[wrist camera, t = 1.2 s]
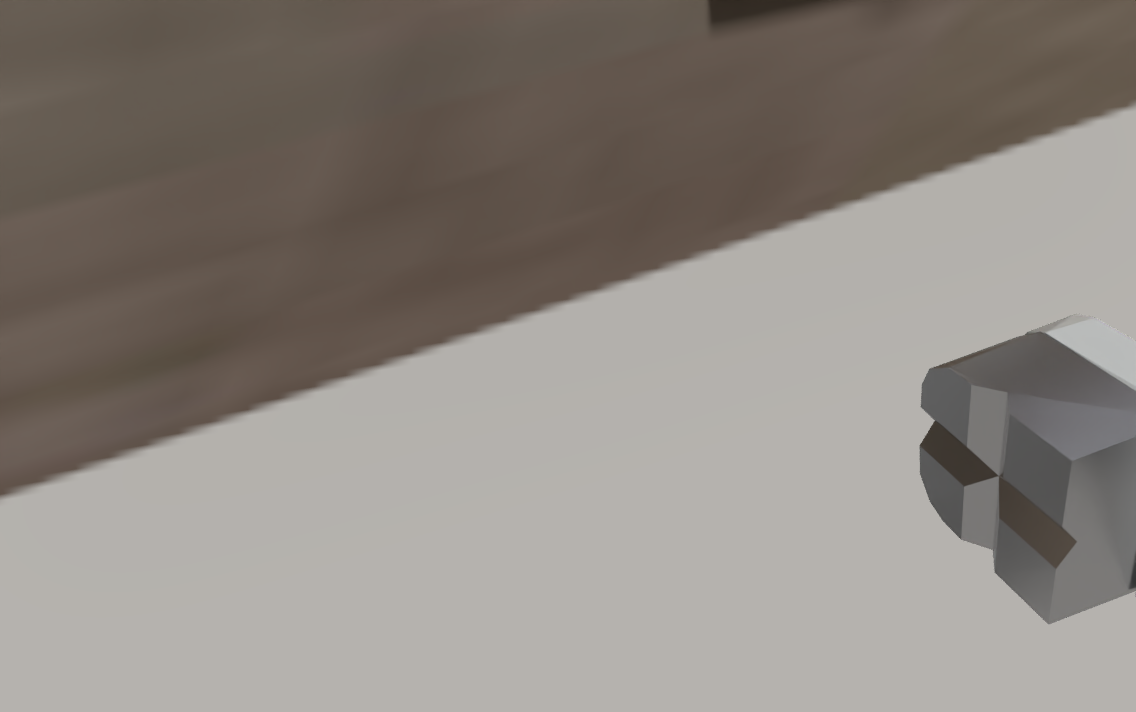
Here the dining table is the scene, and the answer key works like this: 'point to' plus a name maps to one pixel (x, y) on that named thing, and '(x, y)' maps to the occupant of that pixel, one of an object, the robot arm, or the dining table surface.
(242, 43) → the dining table surface
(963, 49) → the dining table surface
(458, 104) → the dining table surface
